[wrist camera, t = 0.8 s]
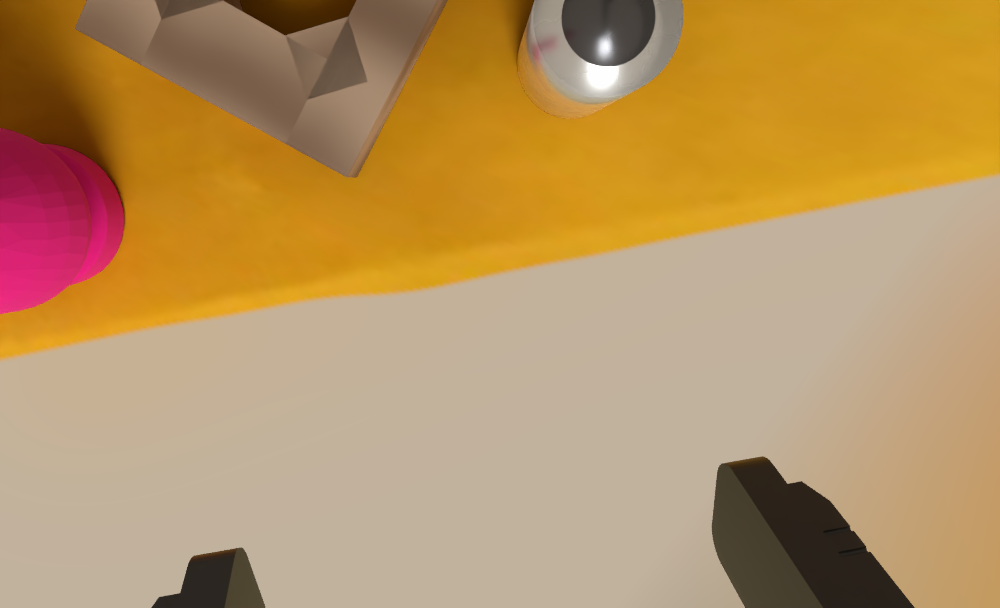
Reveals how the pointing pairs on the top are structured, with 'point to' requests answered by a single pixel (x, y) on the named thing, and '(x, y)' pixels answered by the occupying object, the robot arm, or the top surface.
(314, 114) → the frame
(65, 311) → the top surface
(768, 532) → the robot arm
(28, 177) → the pepper mill
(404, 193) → the top surface
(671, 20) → the bushing
